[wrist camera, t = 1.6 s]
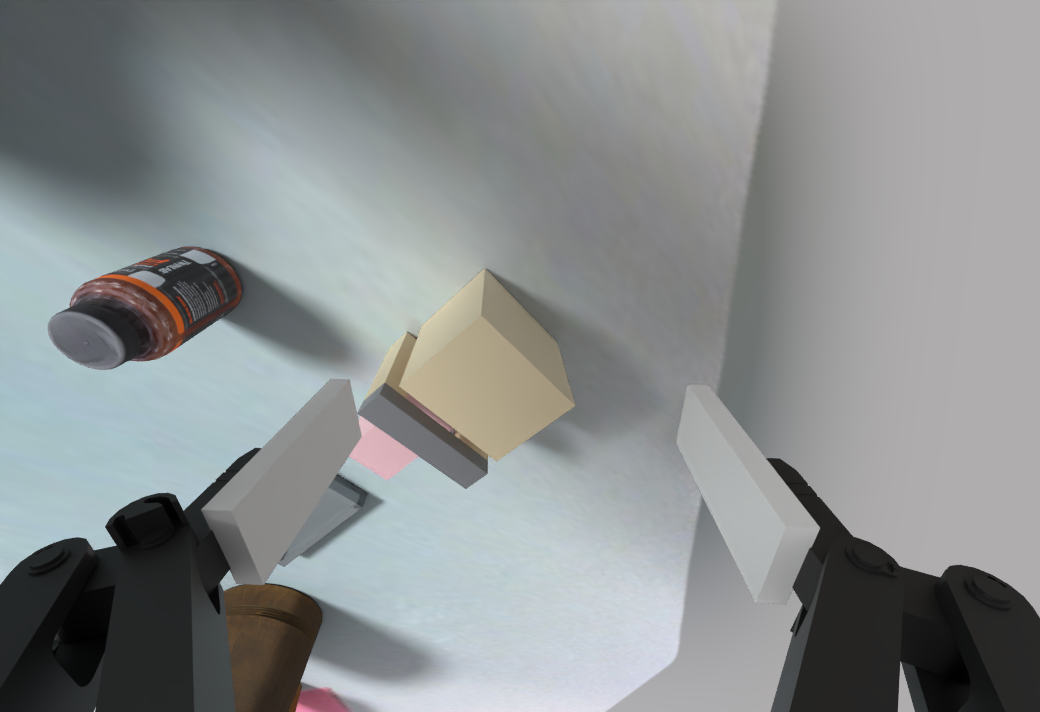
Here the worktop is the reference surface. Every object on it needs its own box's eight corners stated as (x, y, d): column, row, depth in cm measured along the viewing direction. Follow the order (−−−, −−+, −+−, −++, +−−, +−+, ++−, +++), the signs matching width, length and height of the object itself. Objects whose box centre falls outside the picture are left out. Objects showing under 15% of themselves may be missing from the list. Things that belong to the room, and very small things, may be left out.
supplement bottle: (197, 229, 31) (60, 274, 22) (260, 287, 34) (164, 352, 24) (151, 271, 33) (4, 331, 23) (215, 324, 35) (107, 399, 26)
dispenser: (389, 347, 37) (357, 413, 29) (481, 263, 34) (475, 309, 25) (472, 414, 42) (465, 489, 33) (560, 346, 38) (579, 409, 30)
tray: (211, 513, 47) (201, 528, 45) (287, 444, 43) (278, 457, 41) (291, 551, 51) (284, 566, 50) (367, 493, 47) (362, 507, 45)
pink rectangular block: (362, 411, 41) (343, 452, 36) (427, 354, 38) (416, 389, 33) (400, 438, 43) (387, 480, 38) (465, 385, 40) (460, 423, 35)
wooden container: (191, 593, 55) (29, 840, 36) (291, 573, 54) (179, 817, 35) (252, 644, 62) (144, 872, 43) (340, 627, 61) (270, 853, 42)
